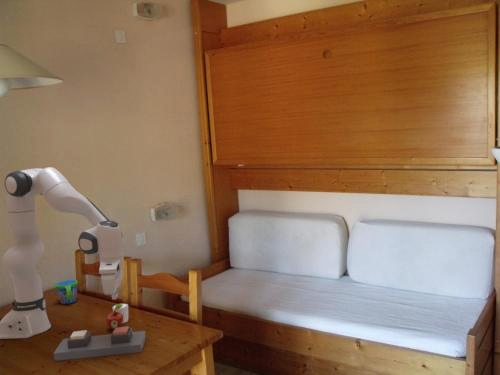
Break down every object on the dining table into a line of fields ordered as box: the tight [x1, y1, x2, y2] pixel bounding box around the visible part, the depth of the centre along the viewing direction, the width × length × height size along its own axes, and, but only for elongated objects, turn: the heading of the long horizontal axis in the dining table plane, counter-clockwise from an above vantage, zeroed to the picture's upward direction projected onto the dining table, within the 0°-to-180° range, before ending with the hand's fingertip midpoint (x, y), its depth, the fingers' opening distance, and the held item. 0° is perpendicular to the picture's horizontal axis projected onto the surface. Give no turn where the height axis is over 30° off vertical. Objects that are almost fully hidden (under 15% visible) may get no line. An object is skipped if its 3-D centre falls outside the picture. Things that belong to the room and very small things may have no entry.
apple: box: [105, 303, 123, 330], centre depth 213 cm, size 8×7×10 cm
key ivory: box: [69, 330, 88, 340], centre depth 192 cm, size 5×5×3 cm
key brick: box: [112, 326, 130, 336], centre depth 193 cm, size 5×5×3 cm
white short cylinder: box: [111, 303, 129, 324], centre depth 221 cm, size 7×7×7 cm
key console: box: [53, 327, 147, 362], centre depth 193 cm, size 32×13×6 cm, turn 95°
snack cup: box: [54, 279, 79, 305], centre depth 252 cm, size 16×10×10 cm
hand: (115, 298), depth 193 cm, fingers closed
